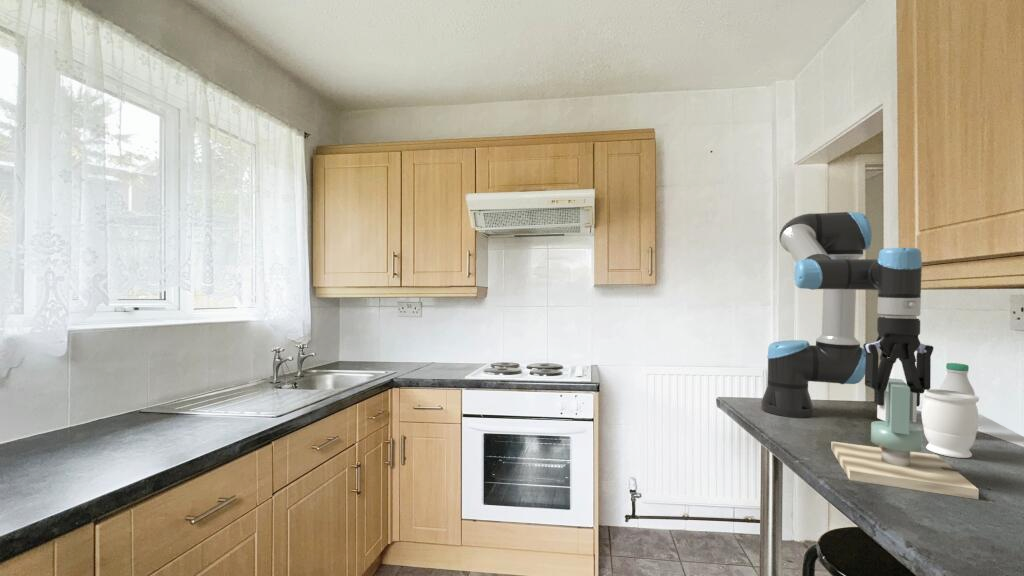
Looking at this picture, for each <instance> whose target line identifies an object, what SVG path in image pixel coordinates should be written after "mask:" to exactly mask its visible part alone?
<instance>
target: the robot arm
mask: <svg viewBox="0 0 1024 576" xmlns="http://www.w3.org/2000/svg"><path fill="white" fill-rule="evenodd" d="M778 239H779V243H780V245H781V246H782V248H783V250H785V251H786V252H788V253H790V254H791V257H792V258H793V260H794V261H795V267H794V272H793V273H794V276H793V277H794V284H795V285H796V287H797V288H799V289H806V290H807V289H808V290H822V291H823V292H822V313H821V314H822V318H821V320H822V321H821V322H822V325H821V335H820V336H819V337H817V338H816V340H815V345H812V344H810V343H809V341H808V340H803V339H798V340H796V339H795V340H794V339H790V340H781V341H774V342H771V343H770V344H769V346H768V347H767V348H768V349H767V356H766V358H767V382H766V383H767V386H766V388H765V392H764V393H763V396H762V399H761V403H760V409H761V410H762V411H764V412H766V413H770V414H773V415H777V416H781V417H790V418H811V417H814V416H815V407H814V403H813V401H812V398H811V395H810V392H809V382H814V383H816V382H817V383H831V384H840V385H845V384H846V385H856V384H858V383H860V382H861V381H862V380H863V379H864V385H865V387H868V388H871V389H872V390H873V391H874V395H873V396H874V397H873V399H874V400H873V402H874V404H875V405H877V407H876V411H877V412H876V418H877V419H879V420H880V421H889V401H890V392H887V391H885V390H886V388H887V384H888V381H889V378H891V373H892V370H893V367H894V364H895V363H897V359H898V360H899V361H900V363H901V365H902V366H901V367H902V370H903V374H904V378H905V383H906V384H907V385H908V386H909V387H910V413H909V422H911V423H917V411H918V410H917V408H918V407H920V404H921V394H922V393H924V390H929V389H931V380H932V379H931V376H932V375H931V374H932V373H931V370H932V369H931V367H932V365H931V361H932V359H931V358H932V357H931V356H932V354H933V352H934V346H932V345H929V344H924V343H922V342H921V341H920V339H919V335H920V334H921V319H919V318H917V317H919V316H921V306H922V303H921V300H922V299H921V296H922V269H923V268H922V267H923V264H924V263H923V261H922V260H923V259H922V251H921V250H920V249H919V248H917V247H891V248H890V247H888V248H883V249H881V250H879V252H878V258H876V259H875V258H872V259H871V258H870V259H869V258H868V259H867V258H865V259H863V256H864V251H866V250H868V249H870V247H871V245H872V240H873V235H872V228H871V223H870V221H869V218H868V217H867V215H865V214H864V213H862V212H855V211H845V212H844V211H843V212H841V211H840V212H823V213H819V212H817V213H806V214H801V215H798V216H795V217H794V218H792V219H790V220H789V221H788V222H786V223H785V224H784V225H783V227H782V228H781V229H780V233H779V238H778ZM861 258H862V259H861ZM857 290H858V291H859V290H860V291H861V290H864V291H866V290H867V291H870V290H871V291H877V308H876V310H877V312H876V313H877V314H878V315H880V316H879V317H878V318H877V321H876V322H877V323H876V325H877V327H876V330H877V331H876V332H877V334H878V336H877V338H876V340H875V342H871V343H867V342H865V343H863V344H862V345H863V346H862V347H861V342H860V341H859V340H858V339H857V338H856V337H855V330H856V329H855V326H856V325H855V322H856V299H857V298H856V297H857V295H856V292H857ZM880 351H881V353H880V356H879V352H880ZM915 352H916V355H915ZM879 360H880V362H879Z"/></svg>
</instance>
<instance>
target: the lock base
mask: <svg viewBox="0 0 1024 576" xmlns="http://www.w3.org/2000/svg"><path fill="white" fill-rule="evenodd" d="M830 443H831V444H830V446H831V447H830V448H831V449H830V450H831V451H832V453H833V454H834V457H835V458H836V460H837V461H838V463H839V465H840V466H841V468H842V470H843V469H844V470H843V471H844V473H845V474H847V475H846V476H847V478H848V479H849V481H854V482H861V483H867V484H874V485H881V486H888V487H894V488H899V489H900V488H901V489H908V490H915V491H918V492H919V491H921V492H927V493H934V494H941V495H947V496H953V497H961V498H967V499H973V500H979V496H980V495H979V488H978V487H976V485H974V484H972V482H970V481H969V480H968V479H967V478H966V477H964V476H963V475H962V474H961V472H962V470H961V469H960V468H954V467H952V466H951V465H950V464H949V463H947V462H946V461H945V460H944V459H942V458H941V457H940V456H939V454H936V453H934V454H933V453H926V452H920V451H918V452H908V451H899V450H893V449H889V448H885V447H882V446H879V445H878V446H871V445H864V444H863V445H861V444H856V443H847V442H838V441H831V442H830Z"/></svg>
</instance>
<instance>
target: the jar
mask: <svg viewBox="0 0 1024 576" xmlns="http://www.w3.org/2000/svg"><path fill="white" fill-rule="evenodd" d="M921 394H922V396H924V398H923V401H922V406H921V412H920V414H921V422H922V427H923V433H924V436H925V438H926V440H927V442H928V443H927V445H926V447H925V448H926V449H927V451H930V452H931V453H934V454H936V455H941V456H945V457H951V458H958V459H967V458H971V457H972V456H973V454H972V452H971V451H970V449H971V448H973V447H972V446H974V444H975V442H976V437H977V433H978V431H979V430H978V429H979V422H980V421H979V420H980V419H979V410H978V407H977V403H978V402H979V401H980V397H979V396H977V395H976V394H975V395H972V394H968V393H962V392H957V391H949V390H939V389H933V388H932V389H931V388H930V389H929V390H924V393H921Z"/></svg>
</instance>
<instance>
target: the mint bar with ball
mask: <svg viewBox="0 0 1024 576" xmlns="http://www.w3.org/2000/svg"><path fill="white" fill-rule="evenodd" d="M885 391H887V392H890V401H889V421H883V420H875V421H872V422H870V423H871V424H870V441H871V442H872V443H873V444H874V445H876V446H878V447H879V446H882V447H885V448H889V449H893V450H899V451H908V452H922V451H923V433H924V430H922V429H921V428H920V427H917V426H913V425H911V424H910V421H909V413H910V387H909V386H908V385H907V382H906V381H905V380H903V379H901V378H891V377H889V381H888V384H887V388H886V390H885Z"/></svg>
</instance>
